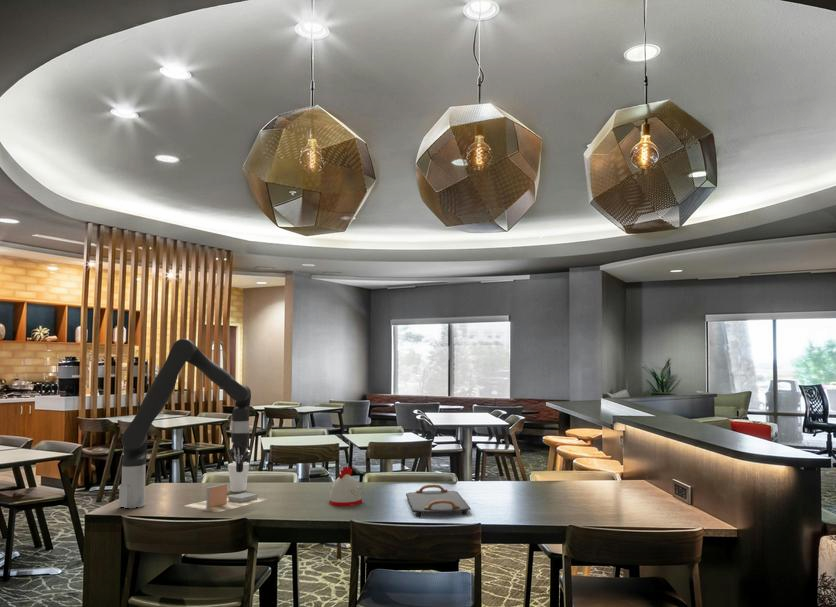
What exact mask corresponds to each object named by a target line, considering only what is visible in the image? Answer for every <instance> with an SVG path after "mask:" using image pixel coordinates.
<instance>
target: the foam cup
mask: <svg viewBox="0 0 836 607" xmlns="http://www.w3.org/2000/svg"><path fill="white" fill-rule="evenodd" d="M249 469H250V462H248V461H247V462H244V463H243V471H242V472H236V463H235V462H230V463H228V464H227V470H228V478H229V485H230V486H229V487H230V491H231V492H234V493H236V492H237V493H238V492H239V493H240V492H241V493H242V492H244V491H246V490H247V485H248V484H247V482H248V475H249Z"/></svg>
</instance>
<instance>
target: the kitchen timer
mask: <svg viewBox="0 0 836 607" xmlns="http://www.w3.org/2000/svg"><path fill="white" fill-rule="evenodd" d="M352 473H353V468H351V466H343V467H342V470H340V473H338V477H337V478H336V480H335V481H334V482H333V485H331V486H330V492H329V496H328V497H329V498H328V504H329V505H331V506H333V507H352V506H357V505H360V504H362V502H363V496H362V490H361V488H362V487H361V486H359V483H358V482H357V481H356V479H355V478H354V477H353V476H352Z"/></svg>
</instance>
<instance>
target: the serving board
mask: <svg viewBox="0 0 836 607" xmlns="http://www.w3.org/2000/svg"><path fill="white" fill-rule="evenodd" d="M429 488H438V489H440V490H425V489H429ZM405 496H406V498H407V500H408V504H409V507H410V508H411V512H413V513H415V516H416V517H417V518H421V517H422V514H424V513H425V514H426V513H427V514H428V513H429V514H434V513H435V514H437V513H440V514H443V513H456V512H461V514H462V515H463V516H465V515H468V511H470V510H471V506H469V504H468V503H467V502H466V500H465V498H463V497H462V496H461V494H460V493H459V492H458V491H455V490H448V489H446V488H444V487H443V486H441V485H440V484H434V483H433V484H425V485H423V486H421V487H420V488H419V489H417V490H415V491H413V492H412V491H411V492H407V493H406V494H405Z"/></svg>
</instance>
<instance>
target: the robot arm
mask: <svg viewBox="0 0 836 607" xmlns="http://www.w3.org/2000/svg"><path fill="white" fill-rule="evenodd" d="M169 350H170V351H169V354H168V355H167V358H166V360H165V362H164V363H163V366H162V367H161V369H160V370H159V372H158V373H157V375H156V376H155V378H154V380H153V382H152V383H151V385H150V386H149V388H148V390H147V391H146V394H145V396H144V397H143V400H142V402H141V404H140V406H139V407H138V411H137V413H136V414H135V416H134V417H133V419H132V421H131V422H130V423H129V425H128V426H127V428H126V429H125V430H124V432H123V433H122V435H121V444H122V446H123V456H122V461H121V483H120V484H119V486H118V487H119V488H118V489H119V492H118V507H119V506H120V507H124V508H123V509H125V508H129V509H137V508H136V507H138V508H141V507H145V505H146V470H147V469H146V466H147V464H146V462H147V457H148V456H147V455H148V453H147V452H148V432H149V430H150V427H151V425H152V424H153V422H154V421H155V419H156V418H157V417H158V416H159V415H160V413H161V412H162V411H163V409H164V408H165V407H166V405H167V403H168V401H169V400H170V397H171V396H172V394H173V392H174V390H175V387H176V383H177V380H178V376H179V374H180V371H181V370H182V368H183V367H184V365H185V364H186V363H188V364H190V365H192V366H194V367H195V368H197V369H198V370H199V371H201V373H203V375H205V376H206V378H208V379H209V380H210V381H211V382H212V383H213V384H215V385H216V386H217V387H219V388H220V389H222V390H223V391H224V393H226V395H228V397H230V399H232V400H234V407H233V409H232V421H231V433H230V434H231V435H230V438H231V440H230V443H231V444H232V446H231V448H230V449H228V454H229V455H230V458H231V459H232V462H234V463H236V472H242V471H243V463H244V462H247V463H248V460H249V458H250V457H251V455H252V450H249V444H248V443H249V442H250V406H251V401H252V400H251V399H252V392H251V388H250V387H249V386H248V385H246V384H241V383H239V381H237V380H236V379H235V378H234V376H233V375H232V374H230V373H229V372H228V371H226V370H225V369H224V368H223V367H221V366H219V365H218V364H217V363H215V362H214V361H213V360H211V359H210V358H209V357H207V356H206V355H205V354H204V353H203V351H201V350H200V348H199V347H198V346H197V345H196V344H195V343H194V342H193V341H192V340H190V339H187V338H180V339H177V340H176V341H175V342H173V344H172V346H171V348H170V349H169ZM120 507H119V508H120Z"/></svg>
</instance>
